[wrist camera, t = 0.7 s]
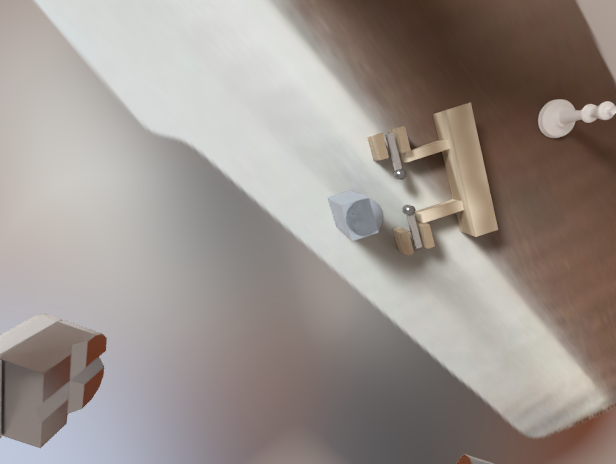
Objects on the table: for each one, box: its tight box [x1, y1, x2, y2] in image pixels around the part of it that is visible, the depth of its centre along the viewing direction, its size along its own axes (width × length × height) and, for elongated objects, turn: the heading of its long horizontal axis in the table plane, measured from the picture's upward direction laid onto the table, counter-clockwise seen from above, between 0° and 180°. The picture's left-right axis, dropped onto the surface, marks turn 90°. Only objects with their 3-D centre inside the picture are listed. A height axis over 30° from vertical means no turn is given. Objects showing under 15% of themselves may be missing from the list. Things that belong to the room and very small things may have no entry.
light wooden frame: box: [368, 102, 498, 256], centre depth 49 cm, size 12×16×4 cm
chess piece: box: [538, 99, 616, 138], centre depth 46 cm, size 5×5×10 cm
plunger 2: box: [403, 205, 422, 249], centre depth 49 cm, size 1×6×1 cm, turn 18°
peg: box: [328, 190, 383, 241], centre depth 45 cm, size 4×4×10 cm
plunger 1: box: [385, 133, 406, 179], centre depth 47 cm, size 1×6×1 cm, turn 17°
